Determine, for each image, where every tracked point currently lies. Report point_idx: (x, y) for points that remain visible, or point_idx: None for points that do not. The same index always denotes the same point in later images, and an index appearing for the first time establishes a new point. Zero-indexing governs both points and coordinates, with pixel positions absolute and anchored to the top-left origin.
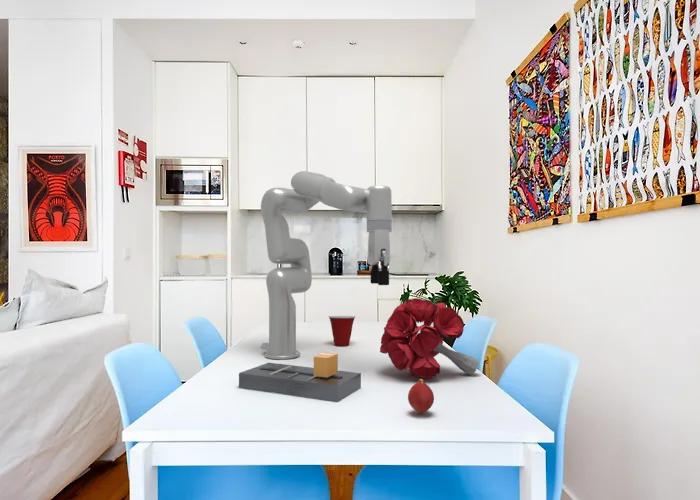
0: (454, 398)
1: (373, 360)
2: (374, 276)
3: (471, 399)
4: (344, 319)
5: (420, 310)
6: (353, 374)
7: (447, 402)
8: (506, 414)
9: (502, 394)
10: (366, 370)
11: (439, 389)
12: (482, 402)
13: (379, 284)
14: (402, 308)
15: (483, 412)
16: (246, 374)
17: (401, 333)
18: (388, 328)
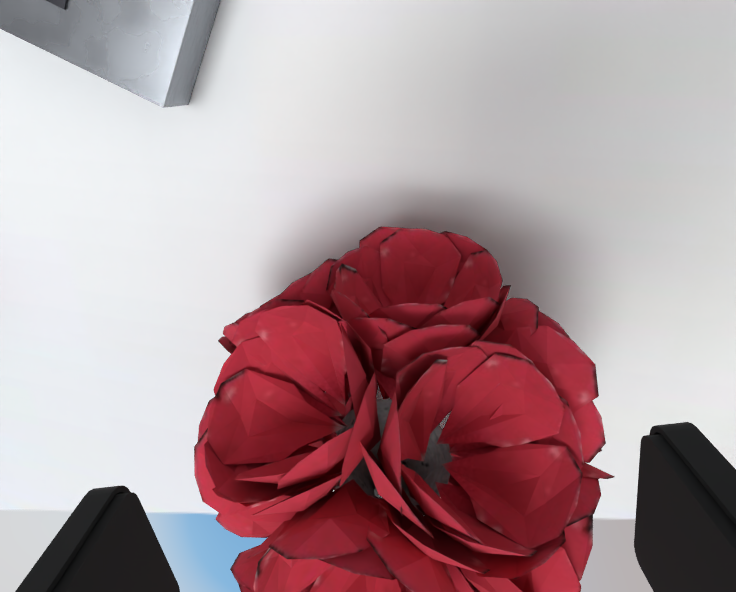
0: (114, 395)
1: (696, 193)
2: (712, 585)
3: (113, 433)
4: None
5: (259, 572)
6: (128, 69)
7: (69, 370)
8: (4, 473)
9: (177, 511)
10: (489, 145)
11: (205, 376)
12: (91, 451)
13: (97, 501)
14: (381, 493)
15: (4, 432)
16: None
17: (337, 376)
18: (346, 322)
